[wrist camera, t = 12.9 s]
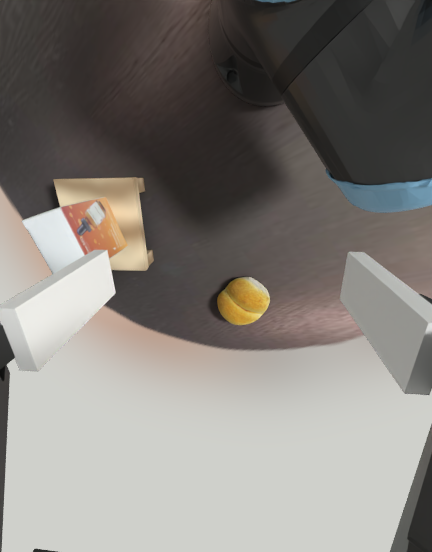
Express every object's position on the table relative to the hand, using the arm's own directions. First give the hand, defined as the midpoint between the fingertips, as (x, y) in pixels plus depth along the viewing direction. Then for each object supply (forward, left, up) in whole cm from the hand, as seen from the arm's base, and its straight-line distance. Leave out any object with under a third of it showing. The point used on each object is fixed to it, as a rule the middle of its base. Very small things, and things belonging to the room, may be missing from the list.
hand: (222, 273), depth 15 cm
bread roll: (+17, +1, -29) cm, 34 cm away
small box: (+3, -20, -25) cm, 32 cm away
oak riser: (+3, -21, -29) cm, 35 cm away
